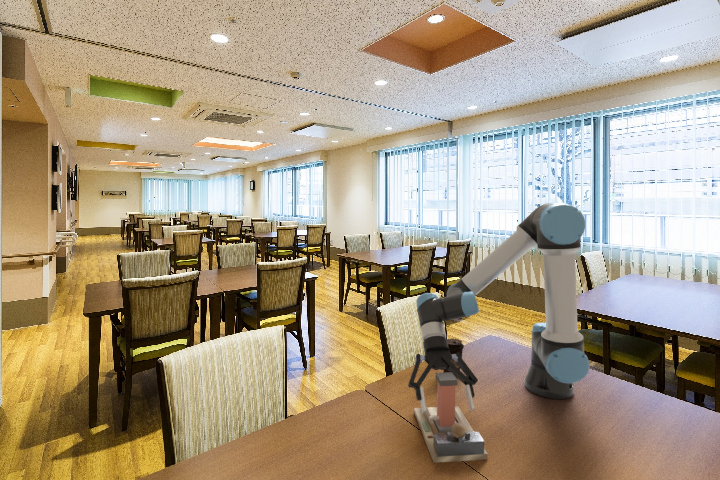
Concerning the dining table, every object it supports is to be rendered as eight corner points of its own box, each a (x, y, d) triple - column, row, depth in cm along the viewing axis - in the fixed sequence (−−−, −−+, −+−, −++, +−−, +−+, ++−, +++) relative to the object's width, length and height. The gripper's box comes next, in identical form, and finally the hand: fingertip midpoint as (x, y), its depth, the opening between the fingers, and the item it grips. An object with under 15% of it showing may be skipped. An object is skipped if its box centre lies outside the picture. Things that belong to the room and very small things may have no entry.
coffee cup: (464, 380, 139) (464, 346, 138) (441, 378, 141) (441, 344, 140) (462, 370, 148) (463, 337, 147) (440, 368, 150) (441, 336, 148)
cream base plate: (458, 410, 119) (458, 402, 119) (487, 459, 96) (487, 449, 96) (414, 412, 118) (414, 404, 118) (433, 462, 96) (433, 452, 95)
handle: (452, 417, 112) (452, 370, 111) (460, 431, 105) (460, 381, 104) (426, 419, 112) (426, 371, 110) (432, 433, 105) (432, 382, 104)
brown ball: (462, 432, 99) (463, 419, 99) (467, 441, 96) (467, 427, 96) (449, 433, 99) (449, 420, 99) (453, 441, 96) (453, 428, 95)
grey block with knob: (478, 444, 100) (478, 427, 100) (483, 454, 96) (484, 436, 96) (433, 446, 99) (433, 429, 99) (437, 456, 95) (437, 439, 95)
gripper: (470, 343, 123) (487, 412, 110) (394, 346, 121) (402, 416, 108) (476, 333, 117) (496, 404, 104) (396, 335, 116) (406, 409, 102)
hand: (448, 411), depth 106 cm, fingers open, 13 cm apart
